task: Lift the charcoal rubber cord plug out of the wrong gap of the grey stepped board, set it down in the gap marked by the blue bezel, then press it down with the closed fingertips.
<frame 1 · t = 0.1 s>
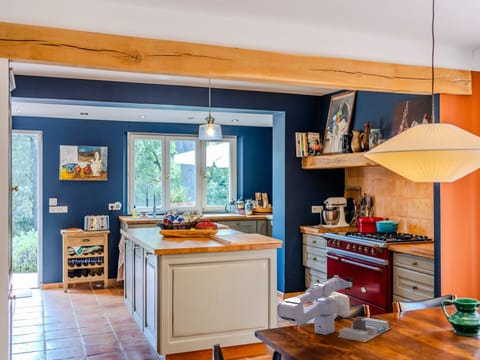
hand: (345, 279, 236), 22 cm above the table, tool horizontal, fingers open, 7 cm apart
grey stepped board: (364, 334, 217), on the table
cord plug: (359, 334, 214), point 1 cm above the table, touching grey stepped board
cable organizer: (334, 317, 250), on the table
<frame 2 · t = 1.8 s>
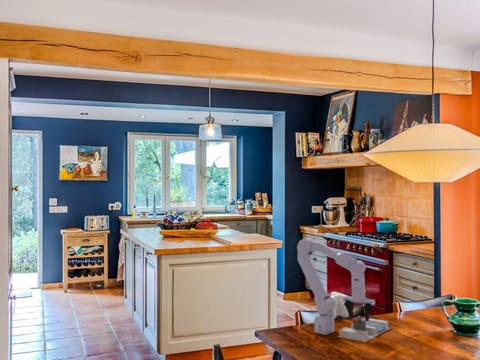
hand: (359, 319, 214), 8 cm above the table, tool pointing down, fingers open, 7 cm apart
nothing on the table moved.
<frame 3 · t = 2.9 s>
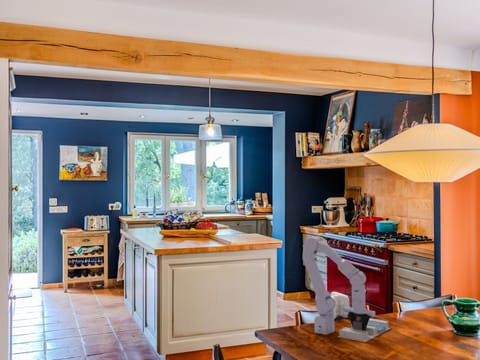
hand: (359, 330, 214), 3 cm above the table, tool pointing down, fingers closed on cord plug, 4 cm apart
cord plug: (359, 334, 214), point 1 cm above the table, touching grey stepped board, gripper
everything else where it was.
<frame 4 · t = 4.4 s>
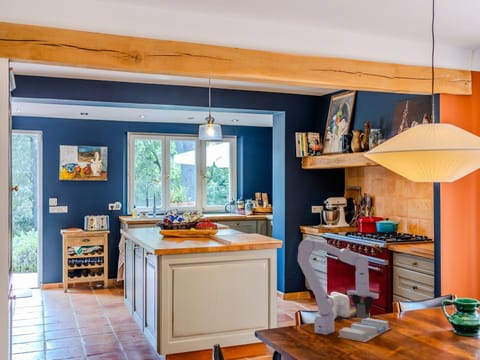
hand: (363, 312, 217), 10 cm above the table, tool pointing down, fingers closed on cord plug, 4 cm apart
cord plug: (363, 317, 217), point 8 cm above the table, touching gripper
everything else where it was.
when the fingers open (4 cm above the table, at t = 6.3 s): cord plug stays where it is, resting on grey stepped board.
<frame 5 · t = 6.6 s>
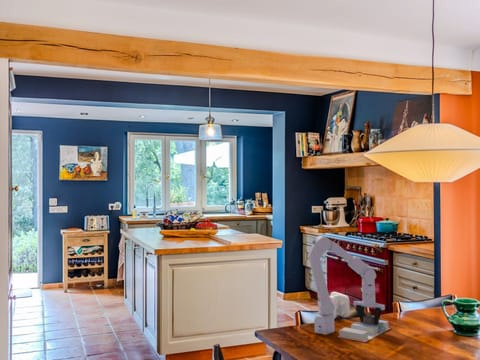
hand: (369, 323, 221), 4 cm above the table, tool pointing down, fingers open, 6 cm apart
cord plug: (369, 329, 221), point 1 cm above the table, touching grey stepped board
everything else where it was.
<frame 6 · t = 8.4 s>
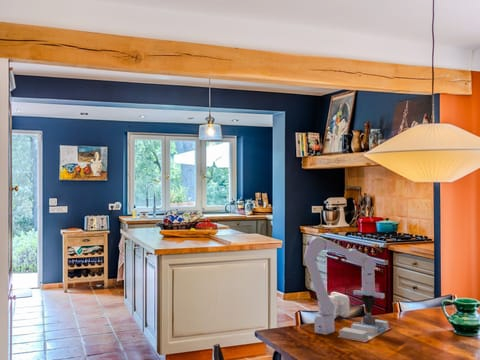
hand: (369, 312, 222), 9 cm above the table, tool pointing down, fingers closed, pressing on cord plug
cord plug: (369, 329, 221), point 1 cm above the table, touching grey stepped board, gripper
everything else where it was.
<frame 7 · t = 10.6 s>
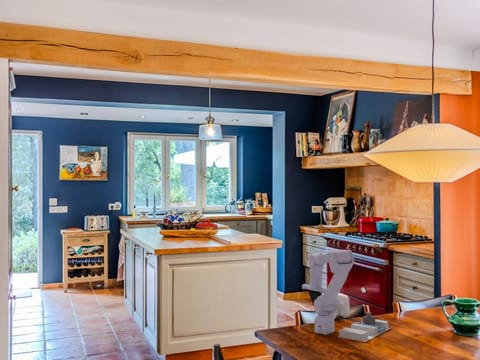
hand: (315, 306, 232), 10 cm above the table, tool pointing down, fingers closed
cord plug: (369, 329, 221), point 1 cm above the table, touching grey stepped board
everything else where it was.
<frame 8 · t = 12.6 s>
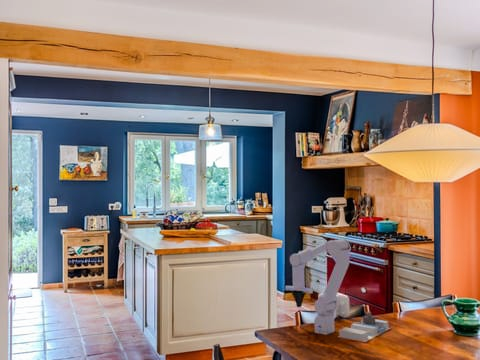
hand: (299, 306, 233), 9 cm above the table, tool pointing down, fingers closed
nothing on the table moved.
at the end: cord plug 0.3 cm from the target spot on the grey stepped board, point 1.0 cm above the grey stepped board's base; cord plug tilted 0°; the gripper is holding nothing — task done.
